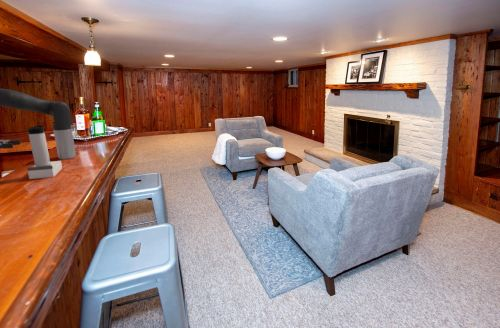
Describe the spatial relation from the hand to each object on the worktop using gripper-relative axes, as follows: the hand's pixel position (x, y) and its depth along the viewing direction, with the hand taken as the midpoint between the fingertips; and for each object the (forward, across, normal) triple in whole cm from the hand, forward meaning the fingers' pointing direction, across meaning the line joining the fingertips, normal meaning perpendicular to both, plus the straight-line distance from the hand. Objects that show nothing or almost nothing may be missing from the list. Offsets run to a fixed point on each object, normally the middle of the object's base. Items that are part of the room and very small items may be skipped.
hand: (16, 143), depth 140 cm
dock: (+9, +2, +16) cm, 19 cm away
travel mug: (+9, 0, +12) cm, 15 cm away
